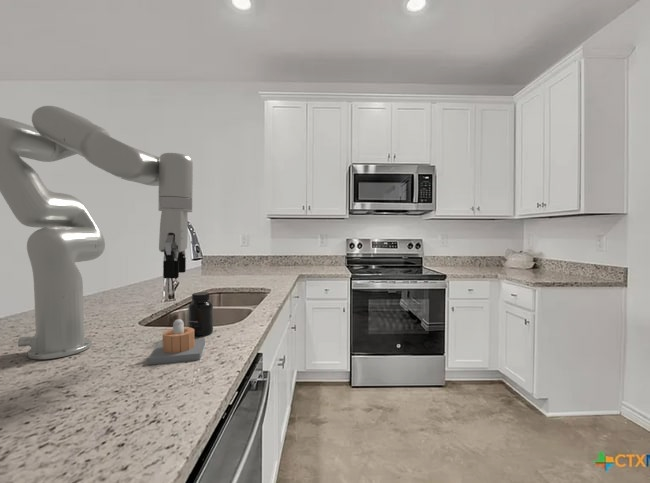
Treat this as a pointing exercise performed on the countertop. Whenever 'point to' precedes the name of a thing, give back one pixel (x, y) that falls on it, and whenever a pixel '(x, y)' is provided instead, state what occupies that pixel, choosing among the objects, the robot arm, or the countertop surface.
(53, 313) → the robot arm
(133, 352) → the countertop surface
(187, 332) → the ring
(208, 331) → the supplement bottle
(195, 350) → the post block
